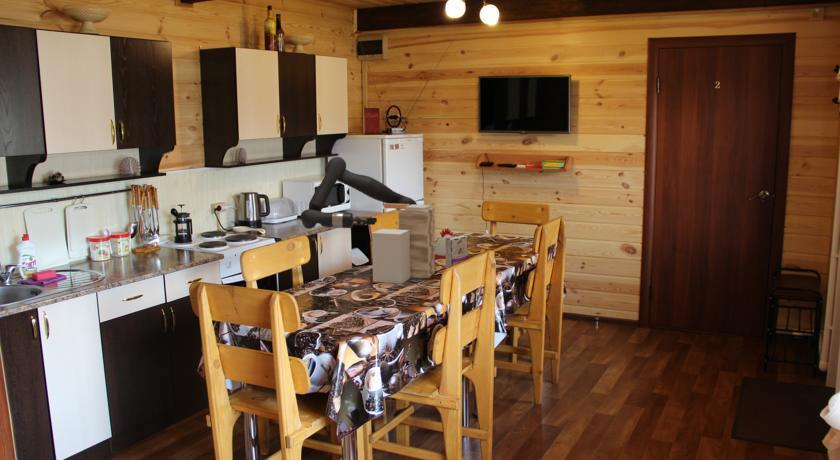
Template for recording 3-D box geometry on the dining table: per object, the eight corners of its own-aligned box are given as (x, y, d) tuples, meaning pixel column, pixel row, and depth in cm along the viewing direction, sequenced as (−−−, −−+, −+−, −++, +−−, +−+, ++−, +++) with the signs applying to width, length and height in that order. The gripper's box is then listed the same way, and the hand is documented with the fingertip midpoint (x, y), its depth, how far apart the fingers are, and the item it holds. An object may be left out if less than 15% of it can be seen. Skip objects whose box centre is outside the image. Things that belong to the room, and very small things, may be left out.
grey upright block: (382, 276, 357) (381, 228, 353) (410, 277, 352) (409, 230, 348) (373, 281, 346) (371, 232, 342) (401, 283, 341) (400, 234, 337)
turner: (388, 206, 362) (388, 202, 362) (431, 208, 355) (431, 203, 355) (381, 209, 354) (381, 204, 354) (425, 210, 347) (425, 206, 346)
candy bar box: (461, 267, 374) (461, 235, 371) (468, 269, 370) (468, 236, 367) (445, 270, 367) (444, 237, 364) (451, 272, 363) (451, 239, 360)
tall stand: (407, 271, 366) (406, 206, 360) (434, 273, 361) (434, 207, 356) (399, 276, 356) (398, 210, 350) (427, 278, 351) (426, 211, 345)
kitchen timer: (428, 255, 403) (428, 228, 401) (448, 252, 412) (448, 225, 409) (444, 259, 392) (444, 231, 390) (464, 256, 400) (464, 228, 398)
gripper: (340, 214, 353) (374, 215, 352) (344, 210, 367) (377, 211, 367) (340, 229, 354) (374, 230, 353) (344, 226, 368) (377, 227, 368)
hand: (375, 221), depth 360 cm, fingers open, 8 cm apart
